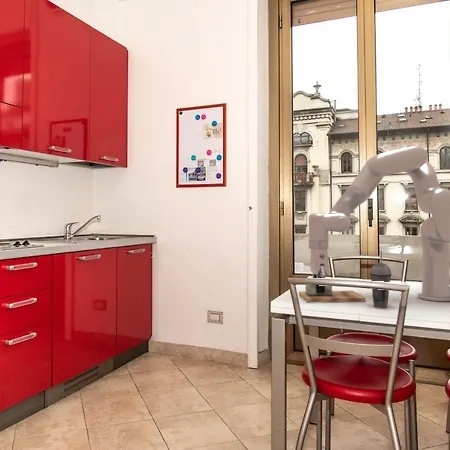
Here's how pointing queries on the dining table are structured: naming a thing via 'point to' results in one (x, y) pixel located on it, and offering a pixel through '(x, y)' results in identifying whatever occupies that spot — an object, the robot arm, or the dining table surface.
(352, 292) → the board
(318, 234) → the robot arm
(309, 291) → the sanding block
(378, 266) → the beverage cup
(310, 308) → the dining table surface
